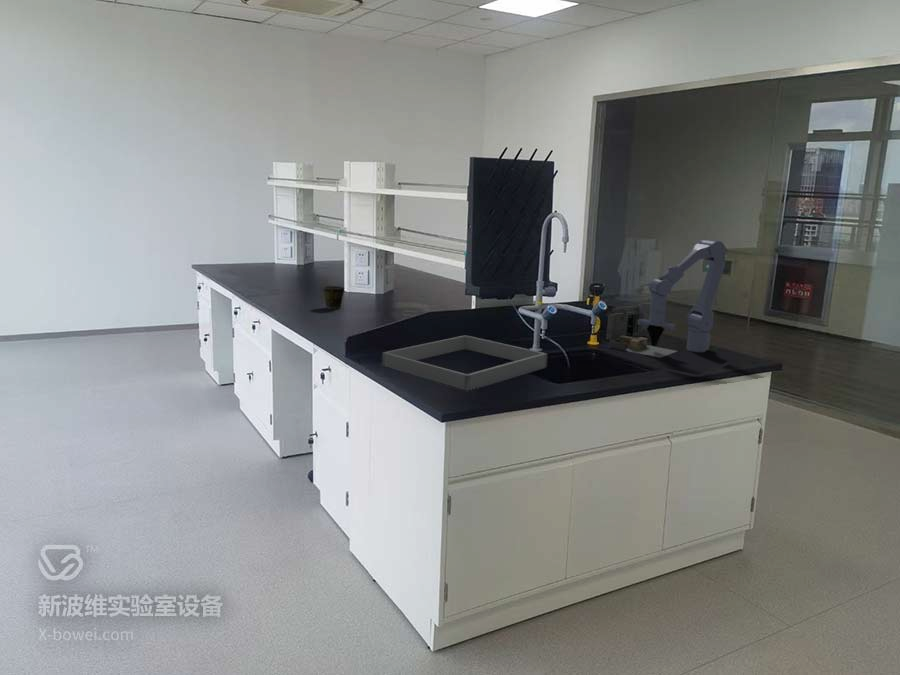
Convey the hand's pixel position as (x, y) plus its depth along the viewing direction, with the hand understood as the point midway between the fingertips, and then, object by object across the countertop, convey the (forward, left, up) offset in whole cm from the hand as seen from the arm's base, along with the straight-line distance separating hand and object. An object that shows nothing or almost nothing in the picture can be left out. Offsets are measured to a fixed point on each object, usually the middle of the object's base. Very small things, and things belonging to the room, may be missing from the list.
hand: (654, 345), depth 271 cm
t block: (0, -10, -2) cm, 10 cm away
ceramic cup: (+38, -147, -4) cm, 151 cm away
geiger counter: (-20, -22, -4) cm, 30 cm away
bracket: (0, -12, -2) cm, 12 cm away
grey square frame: (+72, -35, -3) cm, 80 cm away
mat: (0, -5, -3) cm, 6 cm away
